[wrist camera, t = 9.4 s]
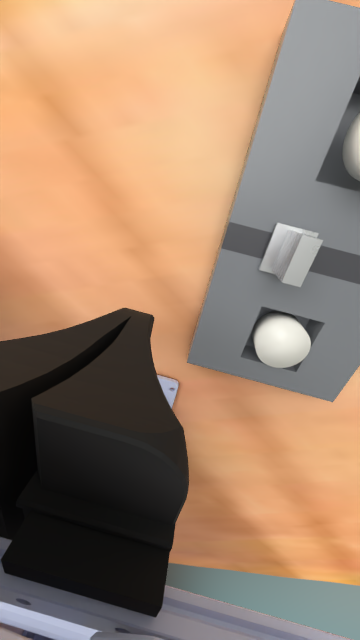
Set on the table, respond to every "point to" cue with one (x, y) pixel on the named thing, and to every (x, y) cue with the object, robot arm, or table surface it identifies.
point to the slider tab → (290, 253)
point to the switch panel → (295, 212)
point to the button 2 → (352, 149)
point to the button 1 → (280, 340)
